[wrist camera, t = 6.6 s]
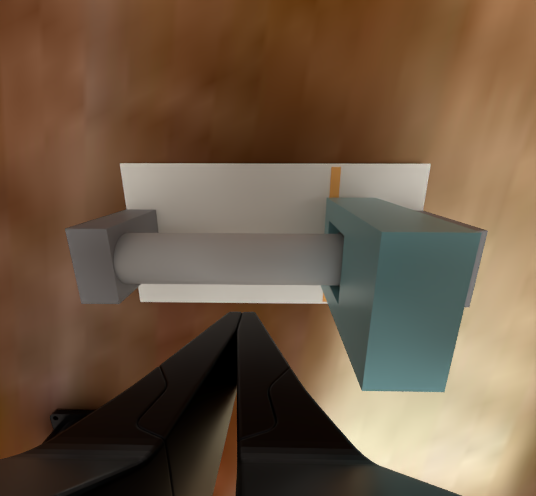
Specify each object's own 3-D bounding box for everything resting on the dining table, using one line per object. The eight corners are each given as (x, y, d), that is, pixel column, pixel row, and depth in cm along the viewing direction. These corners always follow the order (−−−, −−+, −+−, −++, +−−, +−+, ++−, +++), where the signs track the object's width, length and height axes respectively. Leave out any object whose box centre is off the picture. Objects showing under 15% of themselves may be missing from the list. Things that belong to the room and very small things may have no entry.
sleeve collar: (320, 286, 19) (361, 390, 10) (326, 197, 17) (381, 232, 8) (365, 286, 19) (444, 392, 10) (375, 197, 17) (482, 232, 8)
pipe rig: (147, 294, 22) (92, 352, 15) (129, 163, 19) (50, 163, 12) (400, 296, 22) (457, 356, 15) (421, 163, 19) (504, 163, 12)
